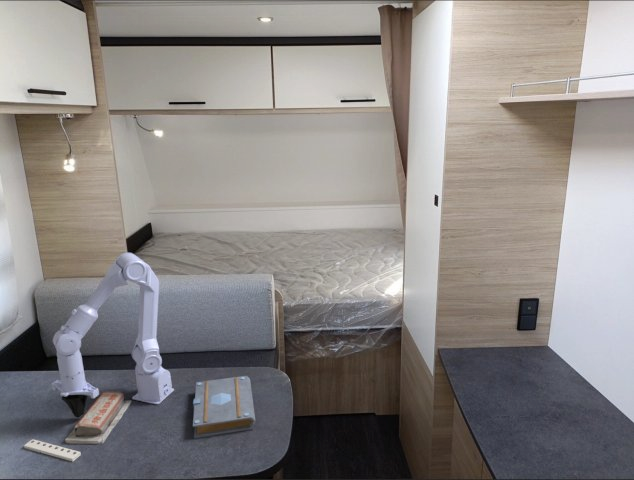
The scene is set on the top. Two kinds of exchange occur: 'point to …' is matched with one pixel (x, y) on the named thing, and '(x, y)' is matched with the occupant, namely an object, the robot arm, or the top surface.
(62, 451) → the perforated board
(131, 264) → the robot arm
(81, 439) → the packaged product
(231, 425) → the book
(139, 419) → the top surface
